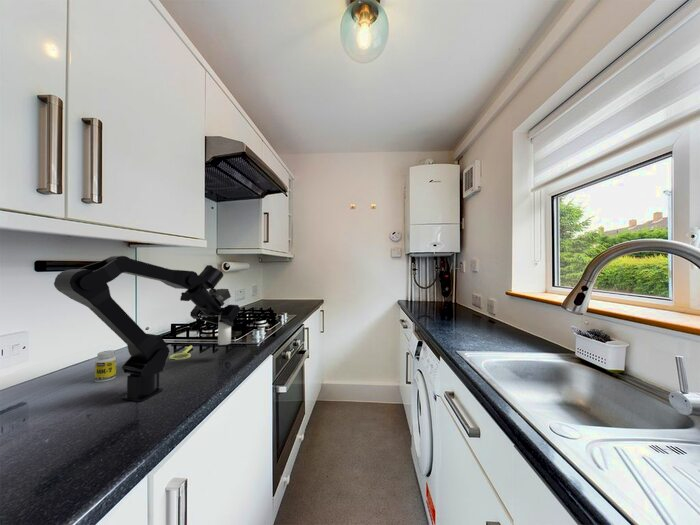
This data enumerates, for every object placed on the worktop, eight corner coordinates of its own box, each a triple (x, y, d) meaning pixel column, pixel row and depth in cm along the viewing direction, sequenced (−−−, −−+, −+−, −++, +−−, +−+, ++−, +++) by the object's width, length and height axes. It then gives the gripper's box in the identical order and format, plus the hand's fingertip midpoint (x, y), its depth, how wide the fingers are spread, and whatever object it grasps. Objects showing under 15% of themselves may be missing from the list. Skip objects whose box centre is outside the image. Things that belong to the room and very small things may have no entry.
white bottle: (225, 345, 94) (226, 308, 94) (215, 344, 95) (216, 308, 95) (233, 341, 98) (234, 306, 99) (223, 341, 99) (223, 306, 100)
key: (192, 349, 110) (192, 344, 110) (190, 359, 99) (190, 353, 99) (172, 352, 106) (172, 347, 106) (167, 362, 95) (167, 357, 95)
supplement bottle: (92, 383, 77) (93, 355, 77) (97, 378, 81) (97, 351, 81) (114, 380, 79) (114, 352, 80) (117, 374, 83) (118, 348, 84)
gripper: (237, 282, 90) (257, 309, 100) (198, 281, 97) (221, 306, 107) (218, 307, 83) (242, 334, 93) (177, 304, 89) (204, 329, 99)
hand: (227, 324), depth 98 cm, fingers closed on white bottle, 4 cm apart
